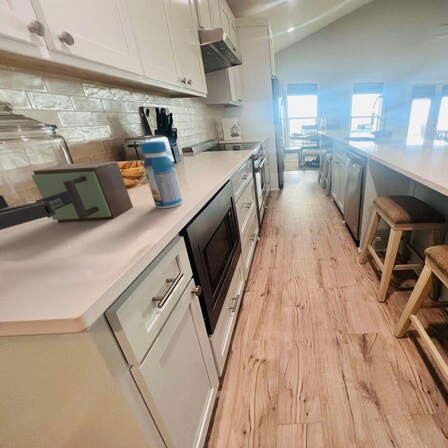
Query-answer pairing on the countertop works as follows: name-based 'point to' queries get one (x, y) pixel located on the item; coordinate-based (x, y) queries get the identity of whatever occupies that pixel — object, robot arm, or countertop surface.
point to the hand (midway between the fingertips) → (36, 199)
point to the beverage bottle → (160, 175)
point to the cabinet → (108, 182)
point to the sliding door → (74, 194)
